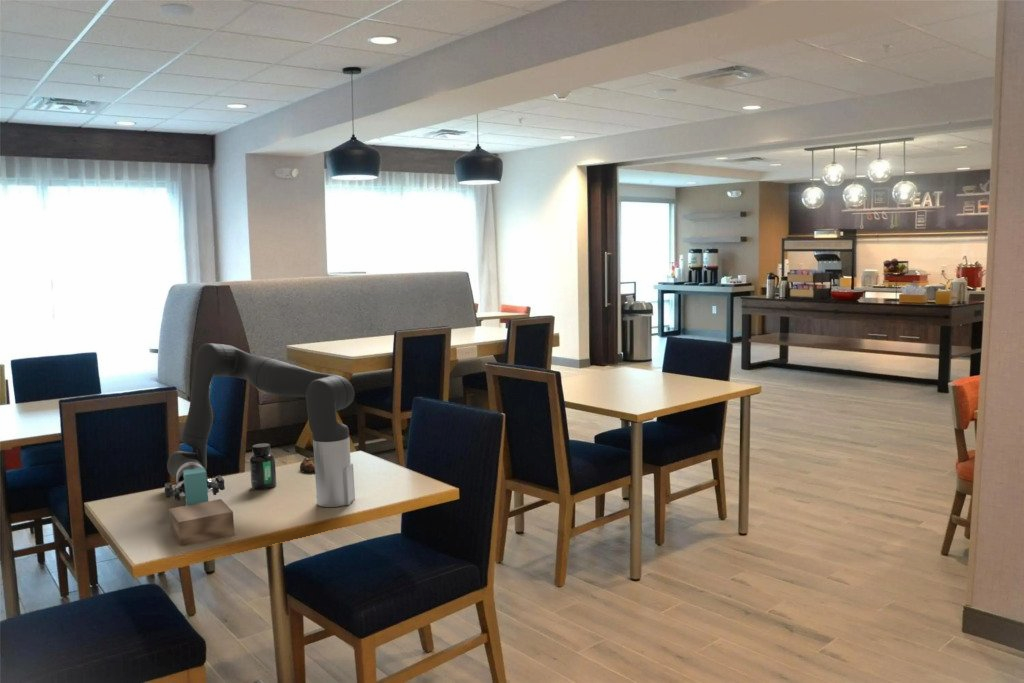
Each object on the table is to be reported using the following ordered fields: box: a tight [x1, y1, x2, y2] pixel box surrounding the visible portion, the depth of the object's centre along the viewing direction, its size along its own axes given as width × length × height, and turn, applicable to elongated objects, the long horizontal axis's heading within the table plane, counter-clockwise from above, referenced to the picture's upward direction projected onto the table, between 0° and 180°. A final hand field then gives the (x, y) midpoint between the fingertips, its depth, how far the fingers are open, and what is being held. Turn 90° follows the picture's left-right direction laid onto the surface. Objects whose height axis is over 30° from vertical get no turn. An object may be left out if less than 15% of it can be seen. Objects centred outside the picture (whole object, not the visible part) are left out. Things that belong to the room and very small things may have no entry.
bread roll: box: [299, 454, 315, 474], centre depth 245 cm, size 11×11×5 cm
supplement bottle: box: [249, 442, 277, 491], centre depth 227 cm, size 7×7×12 cm
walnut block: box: [168, 498, 235, 547], centre depth 191 cm, size 12×12×6 cm
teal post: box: [183, 467, 209, 506], centre depth 202 cm, size 5×5×12 cm
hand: (196, 493), depth 201 cm, fingers open, 8 cm apart
